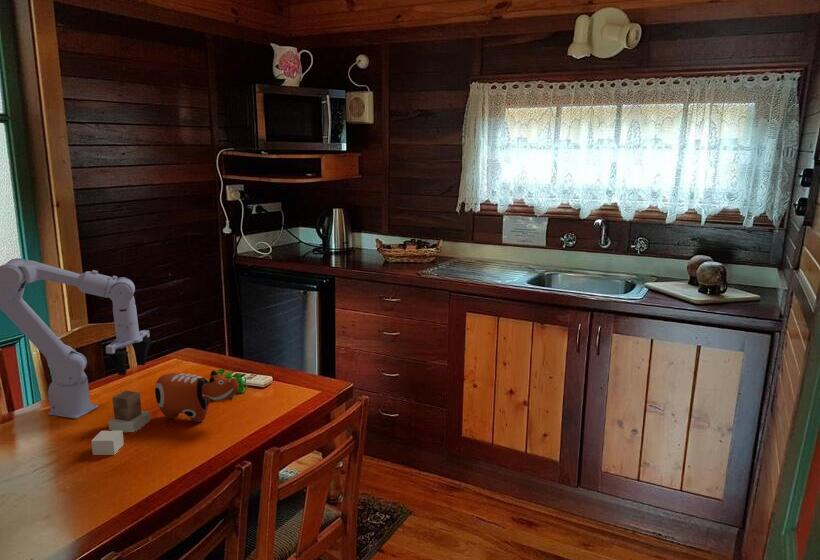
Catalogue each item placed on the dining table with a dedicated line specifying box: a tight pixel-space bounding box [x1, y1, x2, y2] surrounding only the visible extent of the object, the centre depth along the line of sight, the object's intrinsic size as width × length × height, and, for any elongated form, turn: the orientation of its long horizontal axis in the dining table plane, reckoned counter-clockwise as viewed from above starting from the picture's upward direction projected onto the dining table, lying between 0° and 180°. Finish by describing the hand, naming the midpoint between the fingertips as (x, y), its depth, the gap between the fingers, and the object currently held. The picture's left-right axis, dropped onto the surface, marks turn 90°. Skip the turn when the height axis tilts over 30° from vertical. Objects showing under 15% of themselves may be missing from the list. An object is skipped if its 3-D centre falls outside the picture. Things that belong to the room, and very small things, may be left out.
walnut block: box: [111, 389, 142, 421], centre depth 150 cm, size 4×4×6 cm
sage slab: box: [107, 410, 152, 433], centre depth 151 cm, size 7×7×3 cm
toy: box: [154, 369, 239, 423], centre depth 152 cm, size 10×23×15 cm, turn 78°
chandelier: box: [206, 369, 248, 402], centre depth 172 cm, size 15×15×7 cm
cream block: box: [90, 430, 125, 456], centre depth 138 cm, size 5×5×4 cm
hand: (132, 369), depth 161 cm, fingers open, 7 cm apart
